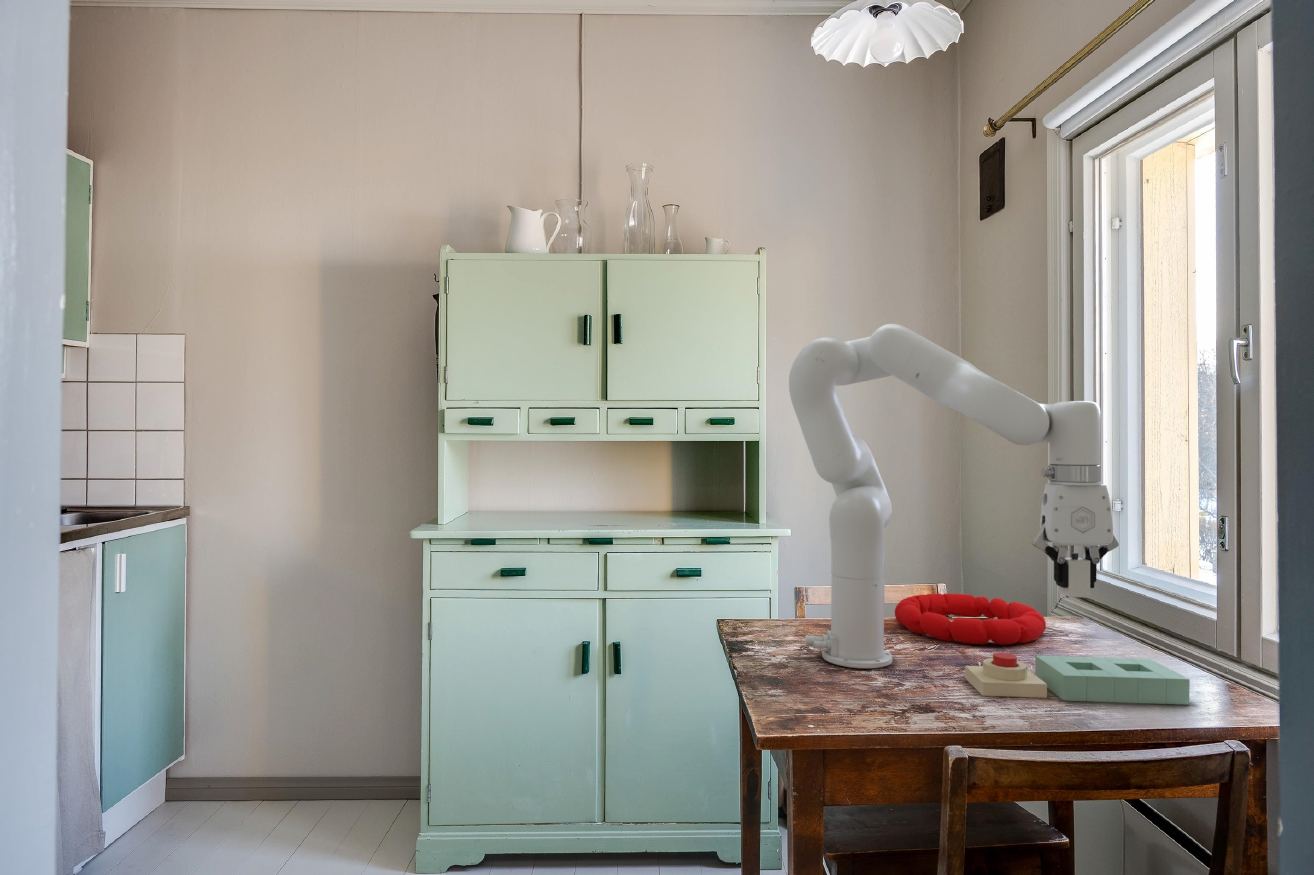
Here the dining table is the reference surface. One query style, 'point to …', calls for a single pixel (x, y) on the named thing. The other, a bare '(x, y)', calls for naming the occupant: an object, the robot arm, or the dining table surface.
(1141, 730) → the dining table surface
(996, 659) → the power button
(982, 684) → the switch box
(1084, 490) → the robot arm
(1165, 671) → the green socket board
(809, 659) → the dining table surface
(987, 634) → the decorative ring
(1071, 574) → the white block with knob
